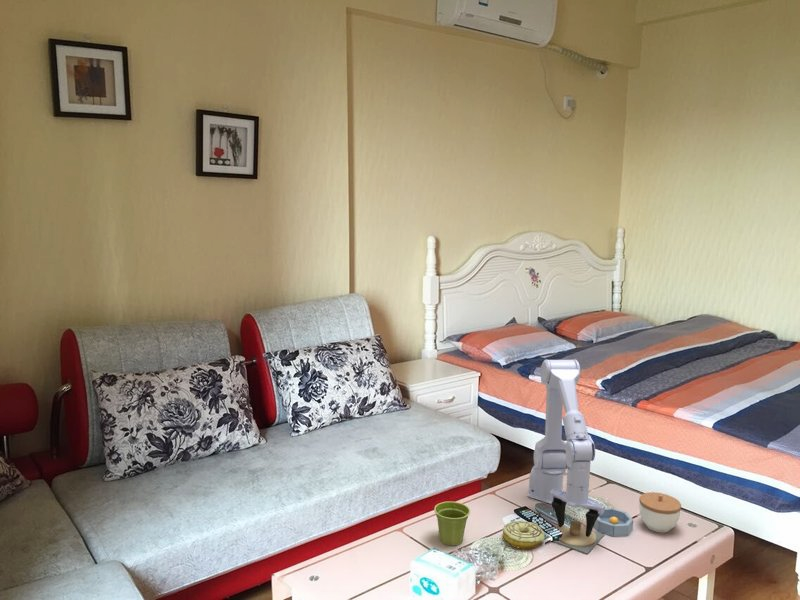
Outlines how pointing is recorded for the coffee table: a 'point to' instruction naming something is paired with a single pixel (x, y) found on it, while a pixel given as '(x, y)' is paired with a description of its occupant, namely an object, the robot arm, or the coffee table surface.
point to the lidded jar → (659, 511)
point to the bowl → (614, 522)
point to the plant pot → (451, 521)
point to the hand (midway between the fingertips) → (574, 530)
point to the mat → (585, 548)
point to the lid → (576, 535)
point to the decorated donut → (523, 534)
